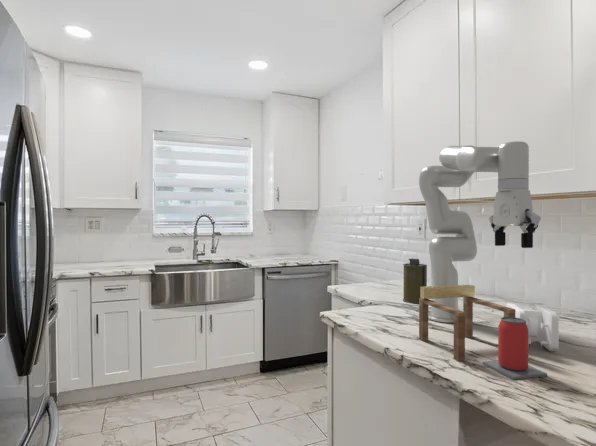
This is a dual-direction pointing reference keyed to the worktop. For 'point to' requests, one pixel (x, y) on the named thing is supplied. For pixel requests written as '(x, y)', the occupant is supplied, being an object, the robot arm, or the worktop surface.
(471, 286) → the bar
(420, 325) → the frame
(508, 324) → the beer can
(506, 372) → the coaster
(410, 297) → the canister
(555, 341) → the cable organizer
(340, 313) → the worktop surface
